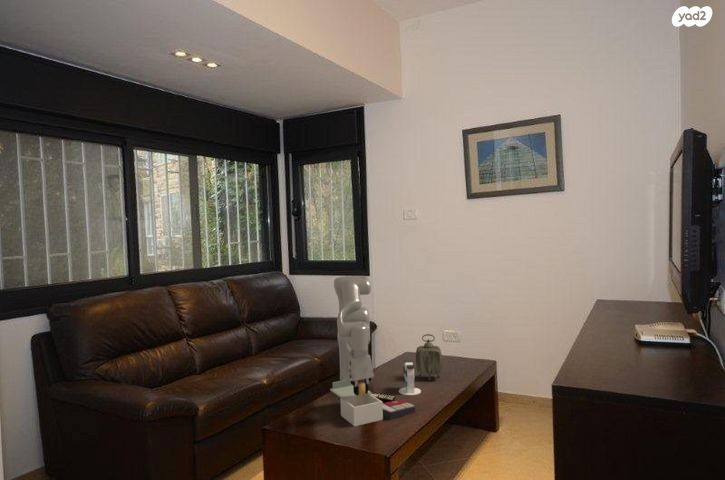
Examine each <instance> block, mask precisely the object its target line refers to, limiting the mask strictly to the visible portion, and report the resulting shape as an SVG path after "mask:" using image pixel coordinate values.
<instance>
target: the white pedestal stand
mask: <svg viewBox="0 0 725 480" xmlns="http://www.w3.org/2000/svg"><path fill="white" fill-rule="evenodd" d="M402 371H403V375H404V378H403V383H404V387H402V388H400V389H399V390H398V393H399V394H400V395H403V396H417V395H420V394H421V392H422V390H421V389H420V388H417V387H415V378H416V377H415V366H414V363H413V362H412V360H410V359H404V360H403V368H402Z"/></svg>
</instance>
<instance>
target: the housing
mask: <svg viewBox="0 0 725 480" xmlns="http://www.w3.org/2000/svg"><path fill="white" fill-rule="evenodd" d="M339 399H340V416H341V417H342V418H344V420H346V421H347V422H348V423H350V425H352V426H353V427H358V426H362V425H365V424H371V423H374V422H378V421H379V422H380V421H382V420H384V417H383V404H384V403H383V401H382V400H380V399H379V398H377V397H375V395H373V394H372V393H371V394H368V395H364V396H358V397H353V398H348V399H341V398H340V397H339Z"/></svg>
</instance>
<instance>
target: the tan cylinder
mask: <svg viewBox="0 0 725 480" xmlns="http://www.w3.org/2000/svg"><path fill="white" fill-rule="evenodd" d="M357 386H358V390H359V395H358V396H364V395H366V392H365V380H364V379H362V380H358V383H357Z"/></svg>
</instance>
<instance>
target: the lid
mask: <svg viewBox="0 0 725 480" xmlns="http://www.w3.org/2000/svg"><path fill="white" fill-rule="evenodd" d="M351 380H352V381H353V379H351ZM329 390H330V392H332V393H334V394H335V395H336V396H337V397H338V398H339V399H340V398H341V399H348V398H353V397H358V396H357V395H355V394H354V392H353V385H352V384H351V383H350V382H348V381H346V380H343V381H340V380H338V381H334V382H332V388H330V389H329ZM368 394H371V395H372V391H370V390H369V389H368ZM368 394H366V395H368Z"/></svg>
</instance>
